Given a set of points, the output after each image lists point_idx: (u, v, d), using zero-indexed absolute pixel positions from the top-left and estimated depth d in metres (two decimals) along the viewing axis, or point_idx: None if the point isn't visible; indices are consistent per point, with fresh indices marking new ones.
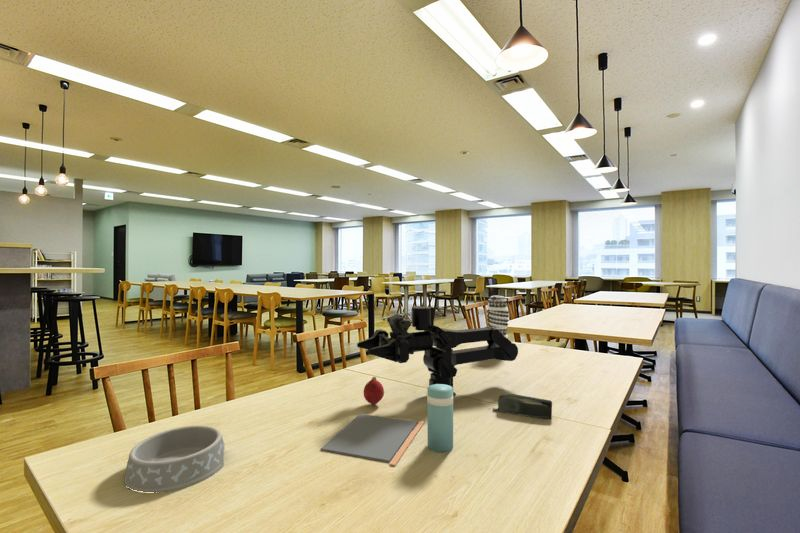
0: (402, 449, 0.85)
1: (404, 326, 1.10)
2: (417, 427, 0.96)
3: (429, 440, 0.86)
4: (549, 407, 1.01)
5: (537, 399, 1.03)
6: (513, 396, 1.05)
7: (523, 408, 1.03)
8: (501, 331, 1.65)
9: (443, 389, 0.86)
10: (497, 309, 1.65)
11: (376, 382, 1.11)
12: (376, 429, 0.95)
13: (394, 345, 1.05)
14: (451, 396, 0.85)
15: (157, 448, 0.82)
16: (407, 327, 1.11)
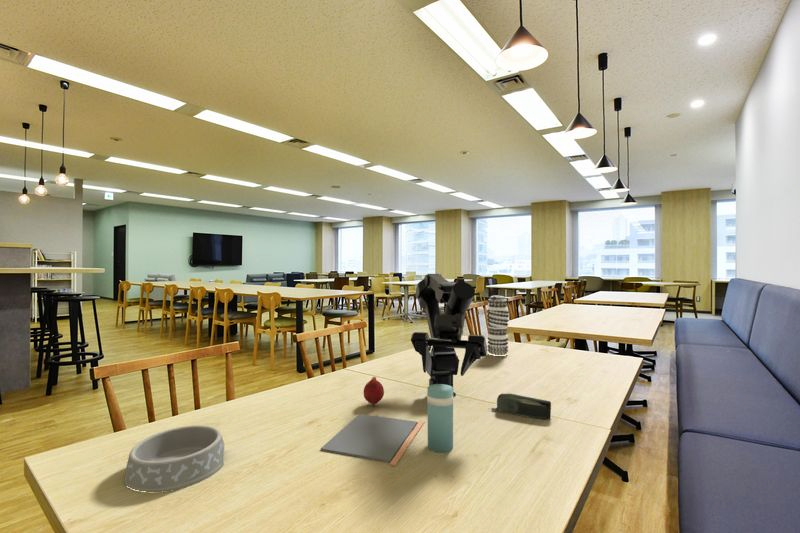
0: (402, 449, 0.85)
1: (462, 322, 0.97)
2: (417, 427, 0.96)
3: (429, 440, 0.86)
4: (547, 408, 1.01)
5: (536, 399, 1.03)
6: (512, 396, 1.05)
7: (522, 408, 1.03)
8: (501, 331, 1.65)
9: (443, 389, 0.86)
10: (497, 309, 1.65)
11: (376, 382, 1.11)
12: (376, 429, 0.95)
13: (476, 349, 0.95)
14: (451, 396, 0.85)
15: (157, 448, 0.83)
16: (463, 320, 0.98)
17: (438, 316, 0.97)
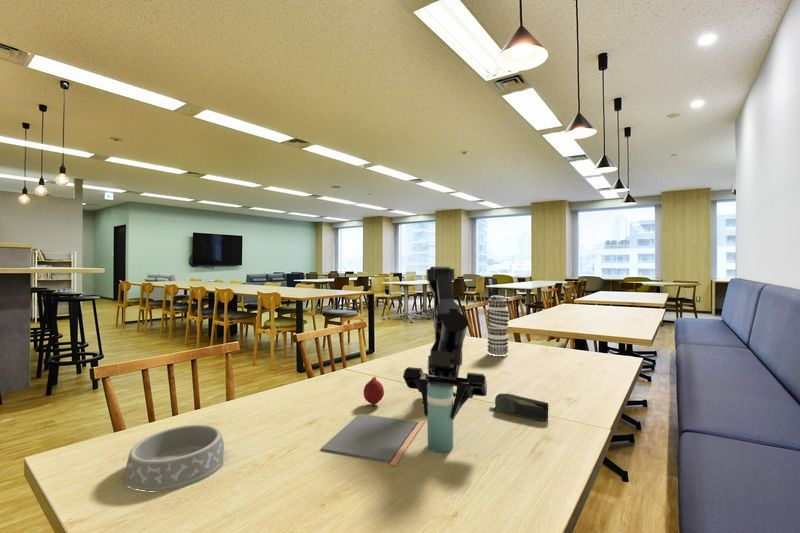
0: (402, 449, 0.85)
1: (461, 360, 0.88)
2: (417, 427, 0.96)
3: (429, 440, 0.86)
4: (544, 409, 1.00)
5: (533, 400, 1.02)
6: (509, 396, 1.05)
7: (519, 409, 1.03)
8: (501, 331, 1.65)
9: (443, 389, 0.86)
10: (497, 309, 1.65)
11: (376, 382, 1.11)
12: (376, 429, 0.95)
13: (468, 389, 0.87)
14: (451, 396, 0.85)
15: (157, 447, 0.83)
16: None
17: (434, 353, 0.87)
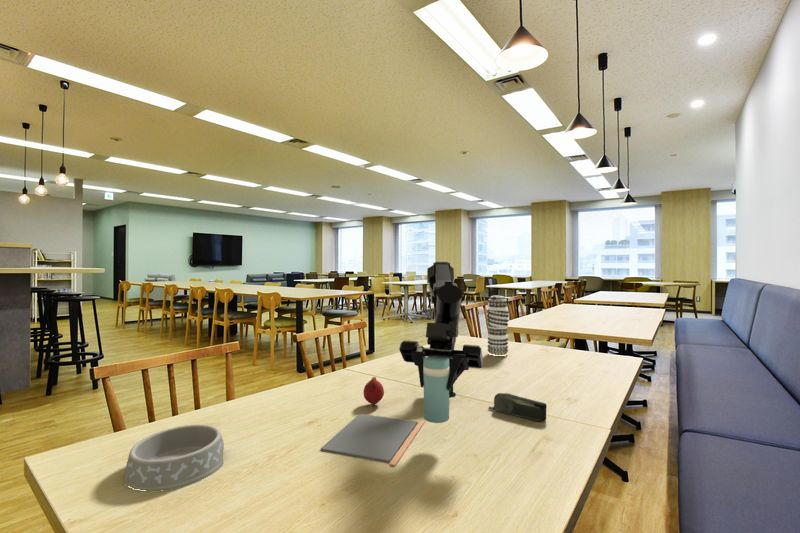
0: (402, 449, 0.85)
1: (457, 331, 0.88)
2: (417, 427, 0.96)
3: (425, 411, 0.86)
4: (542, 410, 1.00)
5: (531, 401, 1.02)
6: (508, 396, 1.05)
7: (516, 409, 1.03)
8: (501, 331, 1.65)
9: (439, 360, 0.86)
10: (497, 309, 1.65)
11: (376, 382, 1.11)
12: (376, 429, 0.95)
13: (464, 360, 0.87)
14: (447, 367, 0.86)
15: (157, 447, 0.83)
16: None
17: (430, 325, 0.88)
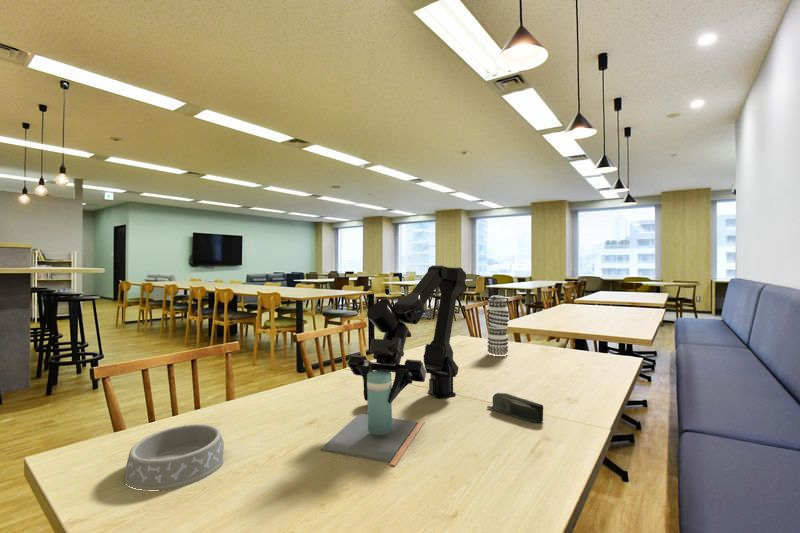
0: (402, 449, 0.85)
1: (399, 347, 0.92)
2: (417, 427, 0.96)
3: (368, 423, 0.91)
4: (538, 411, 0.99)
5: (528, 401, 1.01)
6: (505, 396, 1.05)
7: (513, 409, 1.03)
8: (501, 331, 1.65)
9: (382, 374, 0.91)
10: (497, 309, 1.65)
11: None
12: None
13: (405, 374, 0.92)
14: (388, 381, 0.90)
15: (157, 446, 0.83)
16: (401, 344, 0.93)
17: (374, 341, 0.92)
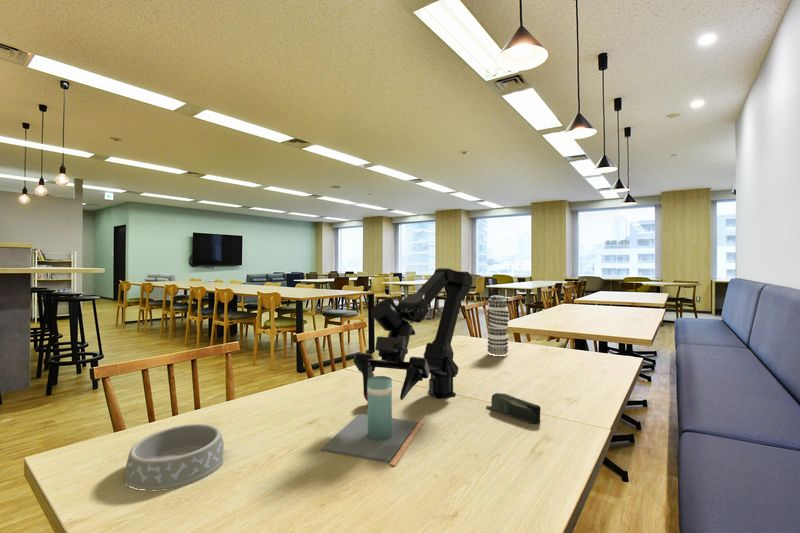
0: (402, 449, 0.85)
1: (404, 345, 0.95)
2: (417, 427, 0.96)
3: (368, 429, 0.91)
4: (534, 412, 0.99)
5: (525, 402, 1.01)
6: (504, 396, 1.05)
7: (511, 409, 1.03)
8: (501, 331, 1.65)
9: (382, 380, 0.91)
10: (497, 309, 1.65)
11: None
12: None
13: (416, 372, 0.94)
14: (389, 387, 0.90)
15: (157, 446, 0.83)
16: (405, 342, 0.96)
17: (379, 339, 0.95)
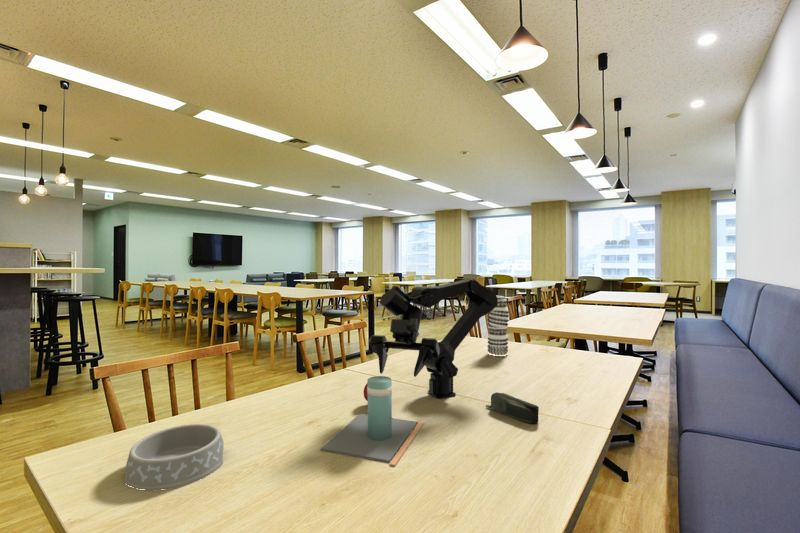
0: (402, 449, 0.85)
1: (416, 327, 1.04)
2: (417, 427, 0.96)
3: (368, 429, 0.91)
4: (532, 412, 0.98)
5: (523, 402, 1.01)
6: (503, 395, 1.05)
7: (509, 409, 1.03)
8: (501, 331, 1.65)
9: (382, 380, 0.91)
10: (497, 309, 1.65)
11: None
12: None
13: (428, 351, 1.03)
14: (389, 387, 0.90)
15: (157, 446, 0.83)
16: (417, 324, 1.05)
17: (394, 321, 1.03)
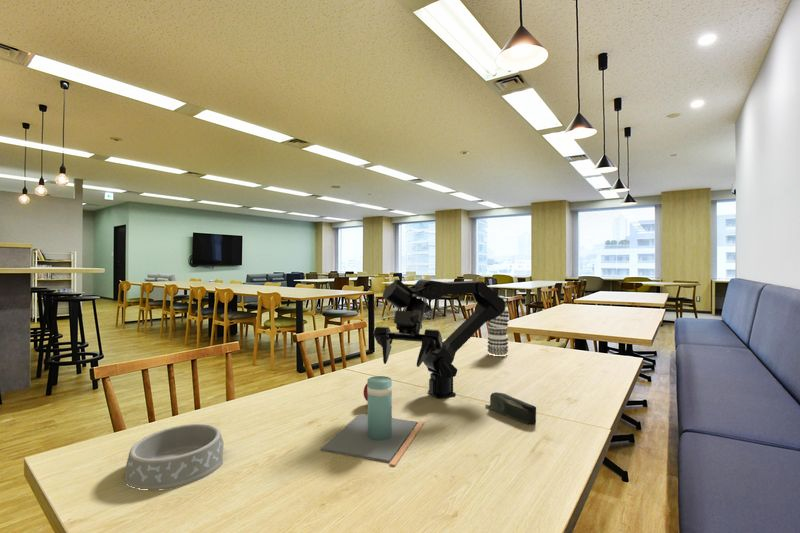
0: (402, 449, 0.85)
1: (420, 318, 1.06)
2: (417, 427, 0.96)
3: (368, 429, 0.91)
4: (529, 412, 0.98)
5: (521, 402, 1.01)
6: (501, 395, 1.05)
7: (507, 409, 1.03)
8: (501, 331, 1.65)
9: (382, 380, 0.91)
10: None
11: None
12: None
13: (431, 342, 1.05)
14: (389, 387, 0.90)
15: (157, 446, 0.83)
16: (421, 316, 1.07)
17: (397, 312, 1.05)
